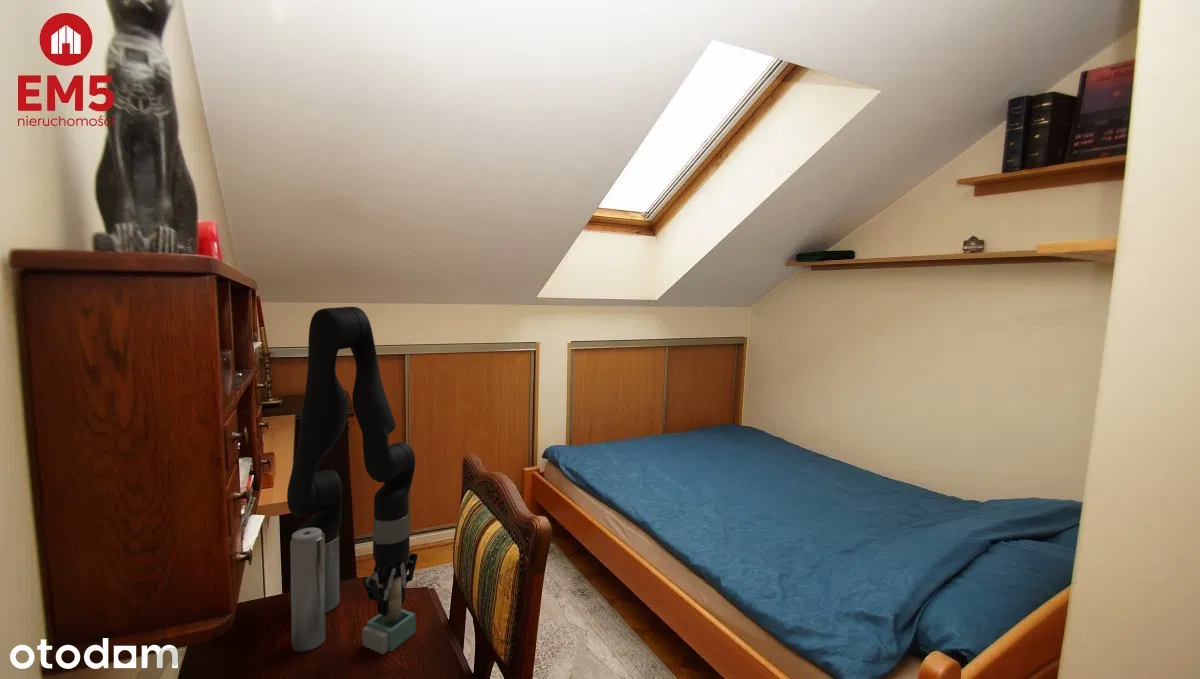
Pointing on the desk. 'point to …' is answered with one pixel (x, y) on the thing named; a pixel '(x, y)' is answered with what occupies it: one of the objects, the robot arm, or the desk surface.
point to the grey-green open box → (395, 628)
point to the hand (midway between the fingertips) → (391, 608)
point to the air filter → (307, 589)
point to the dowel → (394, 600)
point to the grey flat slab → (375, 639)
